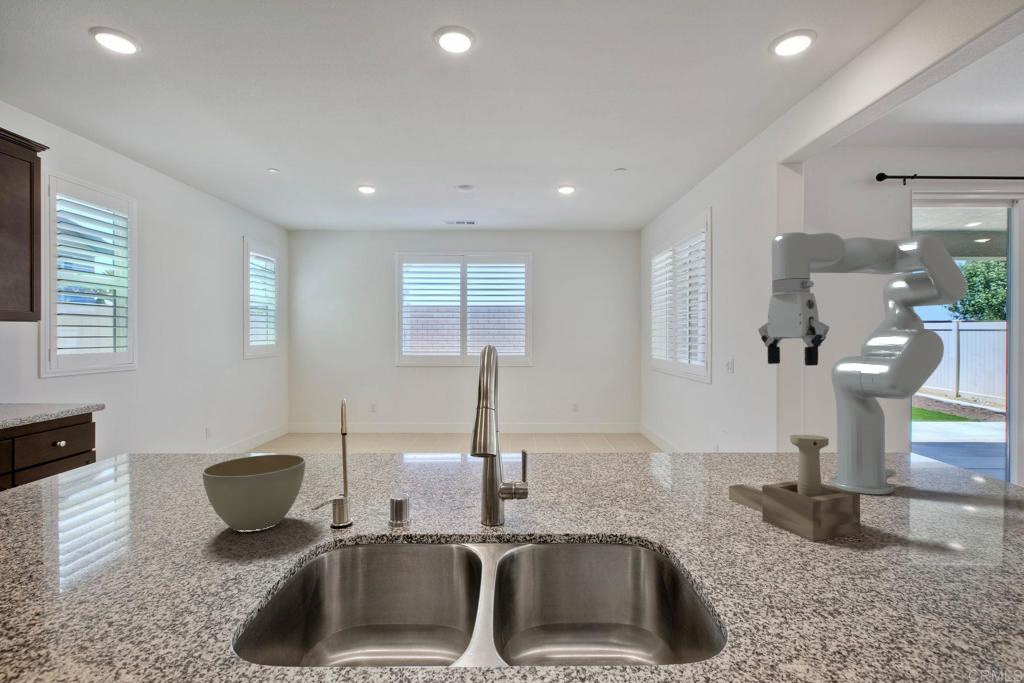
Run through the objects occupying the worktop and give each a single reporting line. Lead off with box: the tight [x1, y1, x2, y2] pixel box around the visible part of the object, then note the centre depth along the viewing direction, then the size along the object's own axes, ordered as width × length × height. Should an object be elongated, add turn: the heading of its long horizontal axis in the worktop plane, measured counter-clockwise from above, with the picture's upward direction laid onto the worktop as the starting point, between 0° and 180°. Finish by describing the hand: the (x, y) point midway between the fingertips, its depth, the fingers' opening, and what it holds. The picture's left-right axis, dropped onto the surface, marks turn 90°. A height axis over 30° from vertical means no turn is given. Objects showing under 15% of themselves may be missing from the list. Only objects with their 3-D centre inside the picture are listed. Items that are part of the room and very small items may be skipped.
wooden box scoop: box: [728, 480, 861, 542], centre depth 102 cm, size 12×24×7 cm, turn 20°
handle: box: [789, 434, 830, 497], centre depth 96 cm, size 5×6×15 cm
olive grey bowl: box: [202, 453, 306, 531], centre depth 99 cm, size 18×18×12 cm
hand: (791, 364), depth 113 cm, fingers open, 9 cm apart
